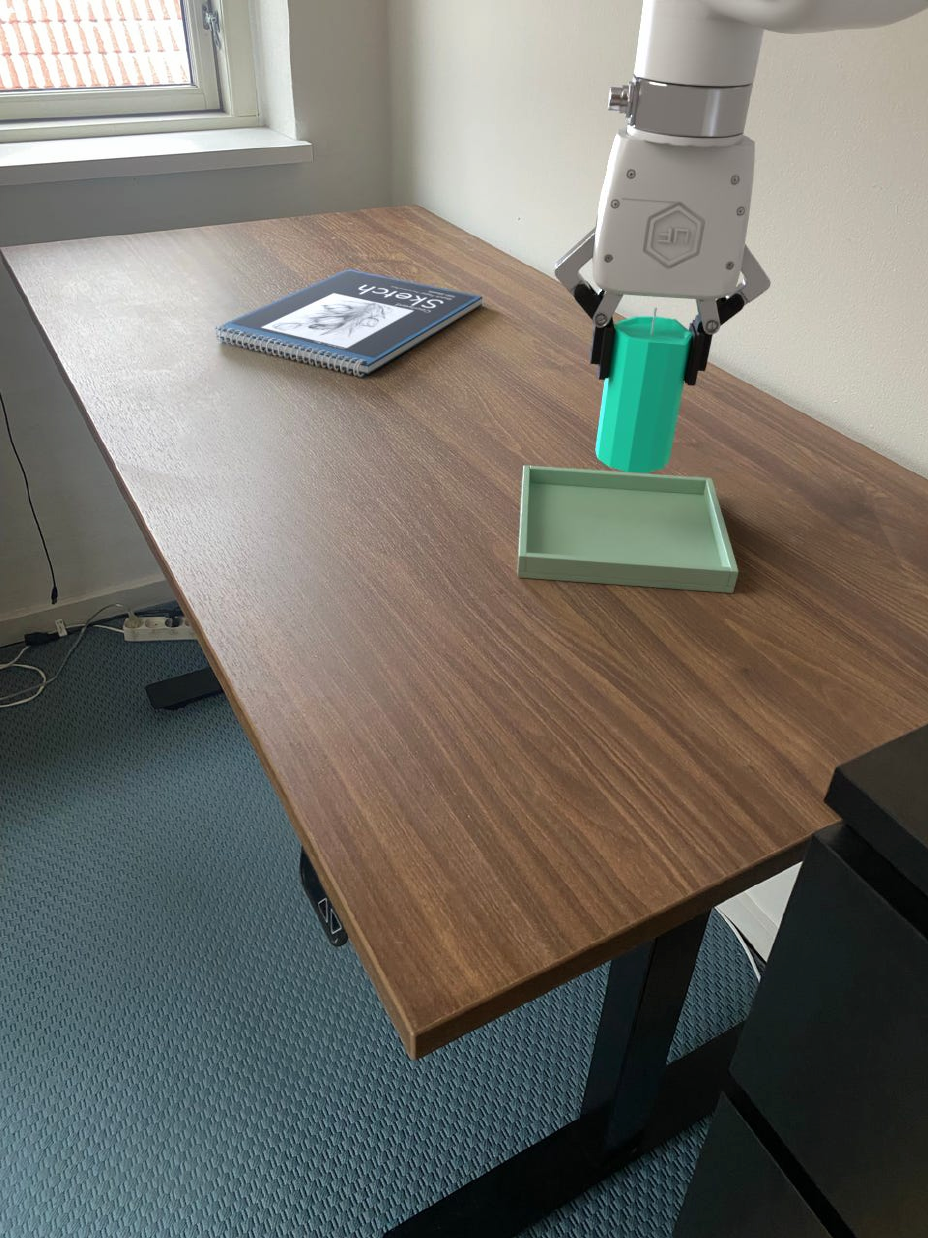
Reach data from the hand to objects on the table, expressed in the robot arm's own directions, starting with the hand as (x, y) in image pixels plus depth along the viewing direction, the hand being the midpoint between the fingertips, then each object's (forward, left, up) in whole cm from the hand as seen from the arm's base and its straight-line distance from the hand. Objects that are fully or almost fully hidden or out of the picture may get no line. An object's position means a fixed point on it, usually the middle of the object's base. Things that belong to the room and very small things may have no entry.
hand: (645, 373), depth 71 cm
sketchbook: (+31, -47, -15) cm, 58 cm away
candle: (0, 0, -7) cm, 7 cm away
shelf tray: (0, 0, -15) cm, 15 cm away
